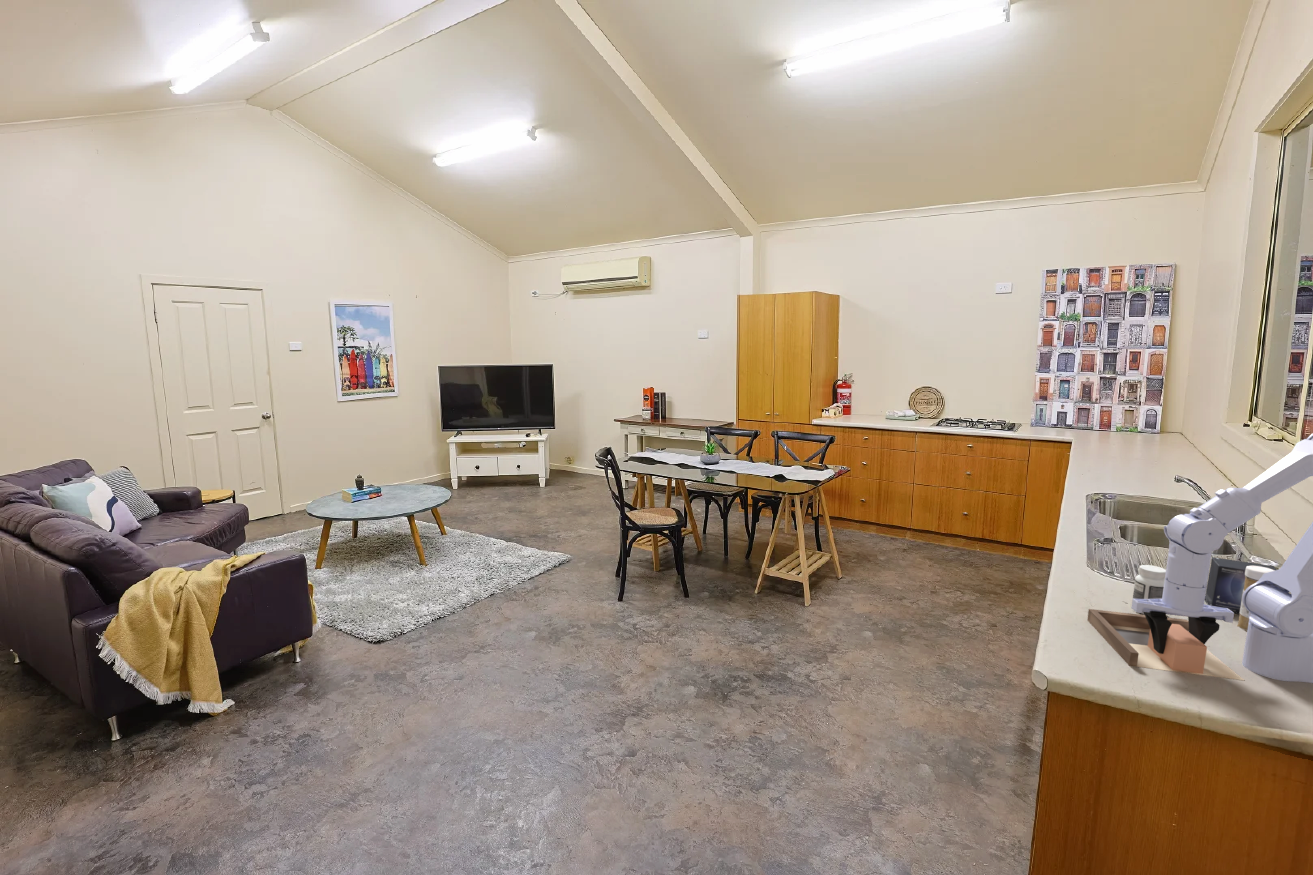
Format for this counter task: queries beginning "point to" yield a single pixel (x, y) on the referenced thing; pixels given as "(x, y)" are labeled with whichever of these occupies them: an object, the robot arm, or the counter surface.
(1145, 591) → the pill bottle
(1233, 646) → the counter surface
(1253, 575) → the sprinkles bottle
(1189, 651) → the terracotta bar
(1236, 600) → the small box
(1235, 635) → the counter surface
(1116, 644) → the tray
